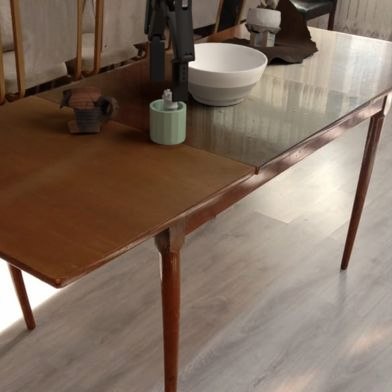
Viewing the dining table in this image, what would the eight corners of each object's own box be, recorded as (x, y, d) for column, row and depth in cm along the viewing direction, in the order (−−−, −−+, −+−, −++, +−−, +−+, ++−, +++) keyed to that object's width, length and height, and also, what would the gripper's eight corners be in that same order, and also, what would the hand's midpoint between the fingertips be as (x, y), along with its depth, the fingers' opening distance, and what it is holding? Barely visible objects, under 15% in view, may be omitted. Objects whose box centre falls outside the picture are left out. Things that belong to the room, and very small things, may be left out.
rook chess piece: (164, 128, 120) (166, 85, 114) (184, 134, 118) (187, 91, 113) (152, 135, 116) (154, 92, 111) (173, 142, 115) (176, 98, 110)
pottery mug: (54, 136, 118) (48, 89, 116) (78, 140, 126) (73, 97, 125) (112, 127, 114) (106, 79, 112) (132, 133, 123) (128, 88, 121)
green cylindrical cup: (157, 147, 114) (157, 114, 111) (145, 133, 119) (144, 101, 115) (190, 142, 117) (191, 109, 113) (177, 128, 121) (177, 97, 117)
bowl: (217, 75, 145) (219, 37, 139) (282, 99, 135) (287, 59, 129) (154, 94, 134) (153, 54, 129) (219, 122, 124) (222, 79, 119)
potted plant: (215, 59, 161) (230, -55, 151) (267, 66, 173) (283, -38, 163) (270, 65, 148) (290, -58, 138) (321, 73, 159) (343, -40, 149)
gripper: (221, -43, 91) (213, 110, 106) (164, -69, 106) (164, 68, 121) (173, -41, 88) (172, 116, 103) (122, -68, 104) (127, 72, 118)
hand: (168, 90), depth 112 cm, fingers open, 10 cm apart
